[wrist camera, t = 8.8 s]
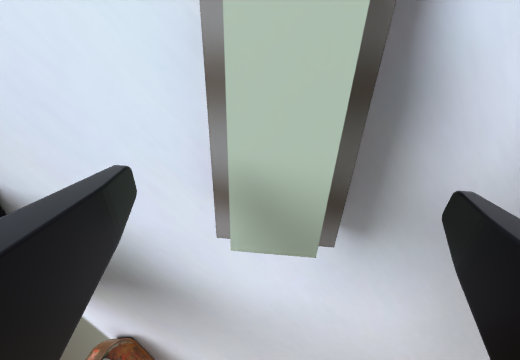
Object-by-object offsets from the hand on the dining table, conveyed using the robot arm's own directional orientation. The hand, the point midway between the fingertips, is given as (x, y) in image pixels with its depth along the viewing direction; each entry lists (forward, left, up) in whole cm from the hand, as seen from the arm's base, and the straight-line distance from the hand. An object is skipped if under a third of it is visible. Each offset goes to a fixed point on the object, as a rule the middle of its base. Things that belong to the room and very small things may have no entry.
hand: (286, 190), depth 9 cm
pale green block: (0, 0, -10) cm, 10 cm away
